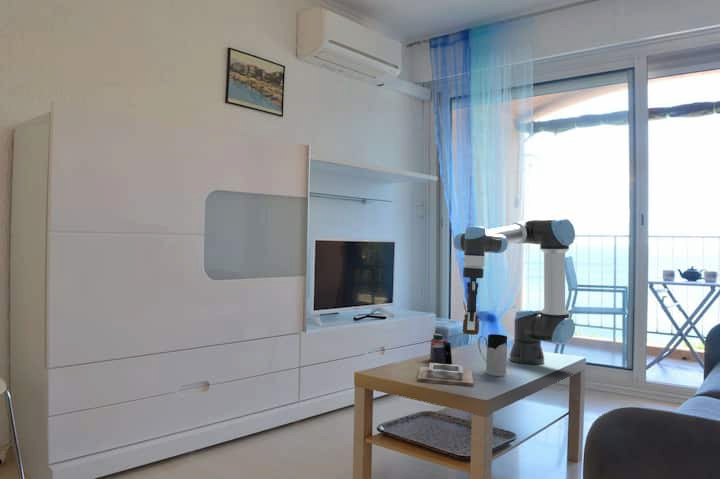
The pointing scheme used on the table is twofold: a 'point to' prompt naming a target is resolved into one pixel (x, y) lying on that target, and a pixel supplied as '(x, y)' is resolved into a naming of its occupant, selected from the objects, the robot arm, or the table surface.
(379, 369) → the table surface
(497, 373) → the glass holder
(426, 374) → the socket plate
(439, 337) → the supplement bottle
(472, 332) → the utensil holder
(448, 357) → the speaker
